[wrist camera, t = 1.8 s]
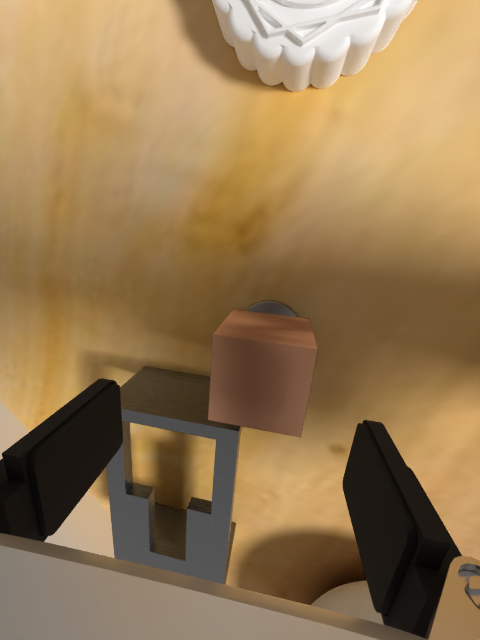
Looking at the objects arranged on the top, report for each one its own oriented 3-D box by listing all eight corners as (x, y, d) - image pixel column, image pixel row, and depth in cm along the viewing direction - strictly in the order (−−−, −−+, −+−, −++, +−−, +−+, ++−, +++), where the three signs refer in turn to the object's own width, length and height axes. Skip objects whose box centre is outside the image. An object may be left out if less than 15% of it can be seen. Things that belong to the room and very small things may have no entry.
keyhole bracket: (144, 366, 24) (100, 404, 18) (251, 384, 23) (239, 431, 17) (148, 508, 30) (116, 571, 24) (235, 529, 28) (222, 602, 23)
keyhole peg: (307, 304, 20) (320, 347, 12) (297, 365, 22) (302, 439, 14) (240, 296, 21) (210, 332, 13) (235, 356, 22) (206, 420, 14)
